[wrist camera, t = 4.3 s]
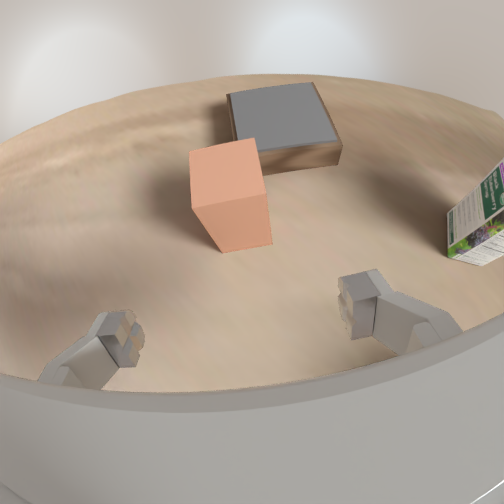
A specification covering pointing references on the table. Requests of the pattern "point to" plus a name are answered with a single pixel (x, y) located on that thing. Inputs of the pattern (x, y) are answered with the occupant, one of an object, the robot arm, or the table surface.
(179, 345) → the table surface
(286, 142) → the walnut plinth
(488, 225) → the syrup box
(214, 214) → the terracotta block
